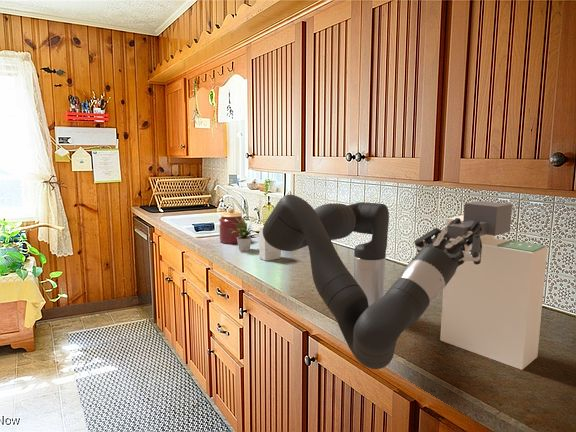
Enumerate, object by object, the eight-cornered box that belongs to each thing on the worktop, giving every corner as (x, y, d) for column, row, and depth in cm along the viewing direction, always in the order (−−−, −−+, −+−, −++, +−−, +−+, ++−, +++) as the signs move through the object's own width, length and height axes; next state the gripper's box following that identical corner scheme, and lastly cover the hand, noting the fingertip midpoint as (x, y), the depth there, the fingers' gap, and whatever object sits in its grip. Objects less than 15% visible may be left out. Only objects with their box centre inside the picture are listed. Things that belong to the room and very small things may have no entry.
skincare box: (265, 261, 190) (264, 227, 188) (258, 258, 195) (258, 225, 193) (281, 258, 194) (281, 226, 192) (275, 255, 199) (274, 223, 197)
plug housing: (438, 236, 88) (440, 206, 87) (478, 227, 99) (480, 201, 98) (472, 241, 83) (474, 210, 82) (509, 231, 94) (512, 204, 93)
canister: (235, 237, 239) (235, 205, 236) (249, 241, 229) (248, 208, 226) (215, 241, 231) (214, 208, 228) (228, 245, 221) (227, 211, 218)
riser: (440, 340, 112) (446, 218, 107) (457, 330, 118) (464, 214, 113) (521, 369, 98) (534, 230, 92) (537, 357, 103) (549, 224, 98)
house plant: (221, 249, 212) (220, 216, 209) (244, 245, 221) (243, 213, 218) (239, 254, 201) (238, 220, 199) (262, 249, 210) (261, 216, 208)
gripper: (456, 269, 73) (500, 211, 81) (388, 254, 84) (433, 204, 92) (465, 301, 77) (506, 242, 85) (398, 283, 87) (441, 232, 96)
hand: (468, 223), depth 88 cm, fingers closed on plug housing, 3 cm apart
